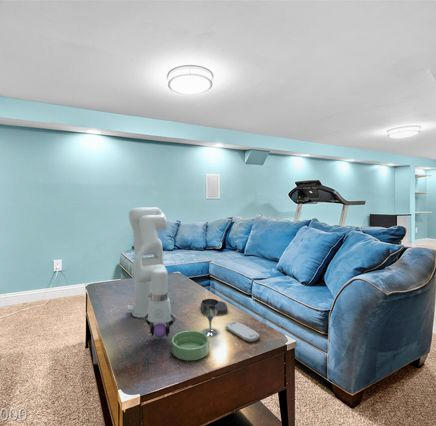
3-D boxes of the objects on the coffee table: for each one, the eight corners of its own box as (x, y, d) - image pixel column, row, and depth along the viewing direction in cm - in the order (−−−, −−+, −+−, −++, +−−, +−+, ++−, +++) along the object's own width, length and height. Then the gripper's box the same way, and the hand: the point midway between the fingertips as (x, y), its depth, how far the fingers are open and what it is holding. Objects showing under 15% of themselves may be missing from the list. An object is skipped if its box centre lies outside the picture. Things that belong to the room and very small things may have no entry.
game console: (223, 323, 134) (235, 319, 138) (223, 328, 134) (235, 324, 138) (249, 339, 118) (262, 334, 123) (249, 344, 118) (262, 339, 123)
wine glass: (213, 338, 124) (213, 306, 124) (199, 333, 128) (198, 302, 128) (221, 331, 131) (221, 300, 130) (207, 327, 135) (206, 297, 135)
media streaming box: (228, 314, 150) (228, 309, 150) (202, 315, 149) (202, 310, 149) (223, 304, 164) (223, 299, 164) (199, 305, 163) (199, 300, 163)
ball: (152, 339, 121) (152, 326, 121) (154, 333, 127) (154, 320, 127) (165, 340, 121) (165, 327, 121) (167, 333, 127) (167, 320, 127)
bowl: (170, 361, 106) (169, 349, 106) (173, 341, 122) (173, 330, 122) (209, 362, 106) (209, 349, 106) (208, 341, 122) (208, 330, 121)
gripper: (139, 299, 119) (139, 338, 120) (177, 299, 119) (178, 339, 120) (142, 293, 127) (143, 330, 128) (179, 293, 126) (179, 330, 127)
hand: (160, 334), depth 124 cm, fingers closed on ball, 5 cm apart
